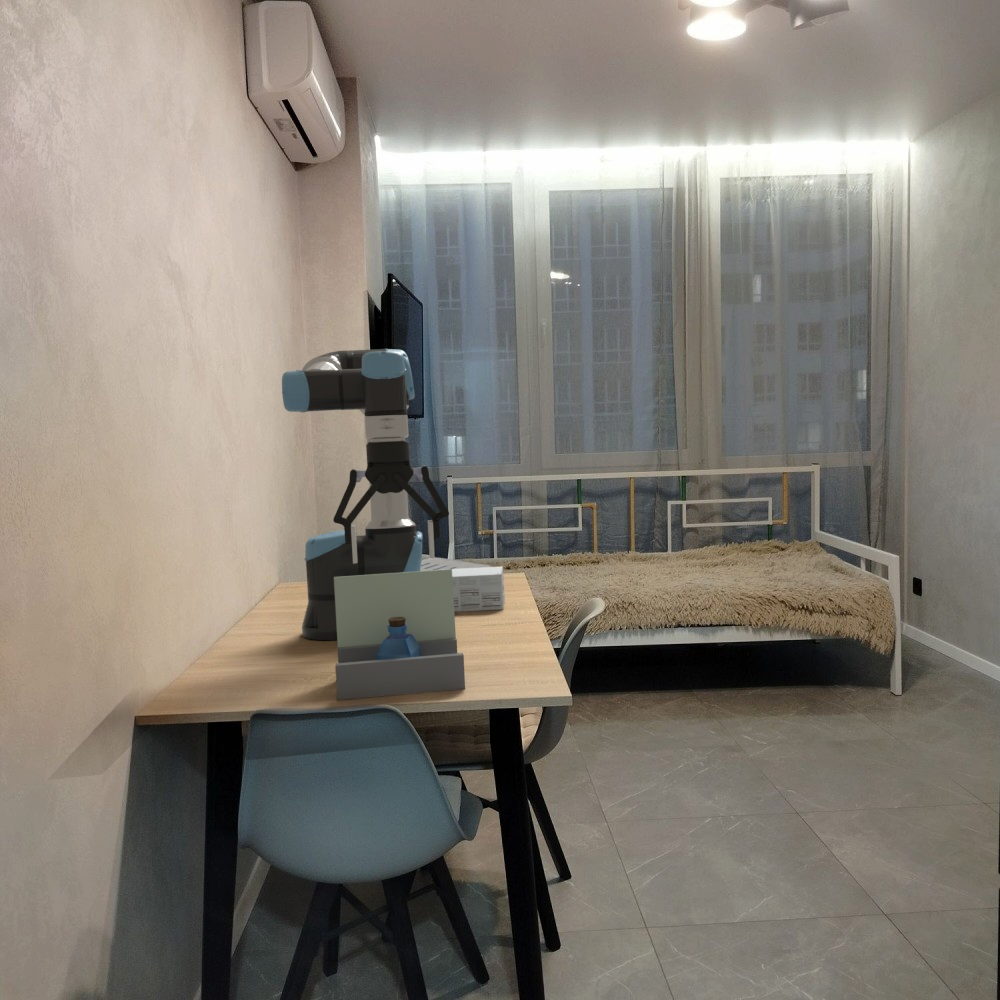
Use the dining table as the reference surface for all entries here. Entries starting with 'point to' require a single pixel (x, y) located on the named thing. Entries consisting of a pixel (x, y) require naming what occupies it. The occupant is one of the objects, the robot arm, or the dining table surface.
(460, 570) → the supplement box
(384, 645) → the perfume bottle
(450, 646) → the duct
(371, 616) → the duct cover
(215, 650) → the dining table surface
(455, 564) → the warehouse
